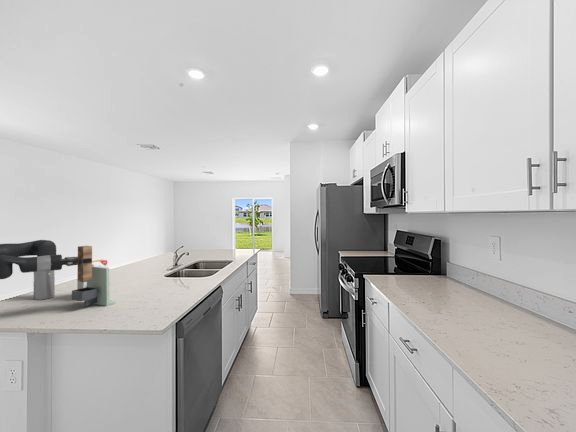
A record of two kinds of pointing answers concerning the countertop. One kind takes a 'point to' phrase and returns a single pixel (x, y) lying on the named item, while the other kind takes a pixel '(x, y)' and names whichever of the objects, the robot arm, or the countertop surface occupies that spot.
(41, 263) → the robot arm
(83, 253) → the walnut rail
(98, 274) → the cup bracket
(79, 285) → the cracker box
